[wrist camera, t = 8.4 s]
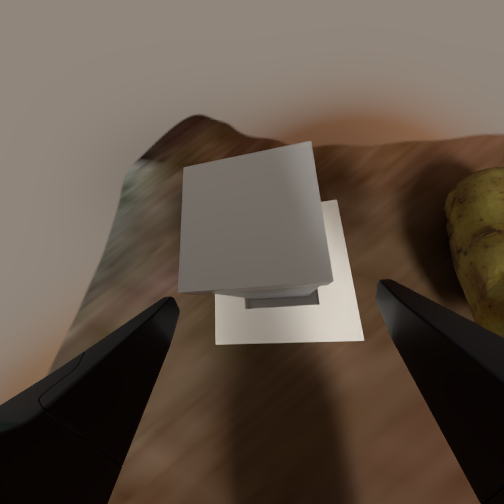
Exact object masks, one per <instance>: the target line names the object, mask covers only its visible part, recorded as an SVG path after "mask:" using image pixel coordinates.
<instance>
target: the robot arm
mask: <svg viewBox="0 0 504 504" xmlns="http://www.w3.org/2000/svg"><path fill="white" fill-rule="evenodd" d="M376 301H377V303H378V306H379V308H380V311H381V313H382V316H383V318H384V321H385V323H386V326H387V328H388V331H389V333H390V336H391V338H392V340H393V342H394V344H395V346H396V348H397V349H398V351H399V353H400V355H401V357H402V359H403V361H404V362H405V364H406V366H407V368H408V370H409V372H410V374H411V375H412V377H413V379H414V381H415V383H416V385H417V387H418V388H419V390H420V392H421V394H422V396H423V398H424V400H425V401H426V403H427V405H428V407H429V409H430V411H431V413H432V414H433V416H434V418H435V420H436V422H437V424H438V425H439V427H440V429H441V431H442V433H443V435H444V437H445V438H446V440H447V442H448V444H449V446H450V448H451V450H452V451H453V453H454V455H455V457H456V459H457V461H458V463H459V464H460V466H461V468H462V470H463V472H464V474H465V476H466V477H467V479H468V481H469V483H470V485H471V487H472V489H473V490H474V492H475V494H476V496H477V498H478V500H479V502H480V503H481V504H504V338H503V337H501V336H499V335H497V334H495V333H493V332H492V331H490V330H488V329H486V328H484V327H482V326H480V325H478V324H476V323H474V322H472V321H470V320H468V319H467V318H465V317H463V316H461V315H459V314H457V313H455V312H453V311H451V310H449V309H447V308H445V307H443V306H441V305H440V304H438V303H436V302H434V301H432V300H430V299H428V298H426V297H424V296H422V295H420V294H418V293H416V292H414V291H413V290H411V289H409V288H407V287H405V286H403V285H401V284H399V283H397V282H395V281H393V280H391V279H383V280H379V281H378V283H377V291H376ZM179 313H180V310H179V307H178V305H177V303H176V301H175V299H174V298H173V297H164V298H162V299H161V300H159V301H158V302H156V303H155V304H153V305H152V306H150V307H149V308H147V309H146V310H144V311H143V312H142V313H140V314H139V315H137V316H136V317H134V318H133V319H131V320H130V321H128V322H127V323H125V324H124V325H122V326H121V327H120V328H118V329H117V330H115V331H114V332H112V333H111V334H109V335H108V336H106V337H105V338H103V339H102V340H100V341H99V342H97V343H96V344H95V345H93V346H92V347H90V348H89V349H87V350H86V351H84V352H83V353H81V354H80V355H78V356H77V357H75V358H74V359H72V360H71V361H69V362H68V363H66V364H65V365H63V366H62V367H60V368H59V369H57V370H56V371H54V372H53V373H51V374H50V375H48V376H46V377H45V378H43V379H42V380H40V381H38V382H37V383H35V384H34V385H32V386H30V387H29V388H27V389H26V390H24V391H22V392H21V393H19V394H18V395H16V396H14V397H13V398H11V399H10V400H8V401H6V402H5V403H3V404H2V405H0V504H108V501H109V499H110V496H111V494H112V491H113V489H114V486H115V484H116V481H117V478H118V476H119V473H120V471H121V468H122V465H123V463H124V460H125V458H126V455H127V453H128V450H129V448H130V445H131V443H132V440H133V438H134V435H135V433H136V430H137V428H138V425H139V423H140V420H141V418H142V415H143V413H144V410H145V408H146V405H147V403H148V400H149V398H150V395H151V392H152V390H153V387H154V385H155V382H156V380H157V377H158V375H159V372H160V370H161V367H162V365H163V362H164V360H165V357H166V355H167V352H168V350H169V347H170V344H171V341H172V338H173V335H174V331H175V328H176V324H177V321H178V317H179Z"/></svg>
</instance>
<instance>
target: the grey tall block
mask: <svg viewBox="0 0 504 504" xmlns="http://www.w3.org/2000/svg"><path fill="white" fill-rule="evenodd" d="M332 282H333V275H332V268H331V262H330V256H329V250H328V243H327V237H326V231H325V225H324V219H323V212H322V206H321V200H320V194H319V187H318V181H317V175H316V169H315V162H314V156H313V150H312V144H311V141H307V142H303V143H298V144H293V145H288V146H283V147H278V148H274V149H269V150H264V151H259V152H255V153H250V154H245V155H240V156H235V157H231V158H226V159H221V160H216V161H212V162H207V163H202V164H197V165H193V166H188V167H184V171H183V193H182V215H181V237H180V260H179V282H178V293H185V294H195V295H199V294H220V295H227V296H235V297H242V298H250V299H257V300H258V299H274V298H290V297H306V296H309V295H310V294H311V293H312V292H314V291H315V290H316V289H317V288H318V287H319V286H324V285H329V284H330V283H332Z"/></svg>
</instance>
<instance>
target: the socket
mask: <svg viewBox="0 0 504 504" xmlns="http://www.w3.org/2000/svg"><path fill="white" fill-rule="evenodd" d="M321 206H322V212H323V219H324V225H325V231H326V237H327V243H328V250H329V256H330V262H331V268H332V275H333V282H332V283H330V284H329V285H324V286H319V287H318V288H317V289H316V290H315V291H314V292H312V293H311V294H310V295H309V296H306V297H290V298H274V299H258V300H257V299H250V298H242V297H235V296H227V295H220V294H215V337H216V345H224V344H261V343H297V342H334V341H364V337H363V332H362V326H361V321H360V316H359V311H358V306H357V301H356V296H355V290H354V285H353V280H352V275H351V270H350V265H349V260H348V254H347V249H346V244H345V239H344V234H343V229H342V224H341V219H340V213H339V208H338V203H337V200H330V201H324V202H321Z"/></svg>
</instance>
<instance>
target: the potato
mask: <svg viewBox="0 0 504 504" xmlns="http://www.w3.org/2000/svg"><path fill="white" fill-rule="evenodd" d="M450 189H451V190H450V192H449V194H448V196H447V199H446V202H445V203H444V212H445V216H446V219H447V220H448V222H447V225H446V230H447V233H448V236H449V241H450V249H451V256H452V260H453V265H454V268H455V272H456V274H457V277H458V279H459V282H460V284H461V286H462V289H463V291H464V294H465V297H466V299H467V302H468V305H469V307H470V310H471V312H472V315H473V318H474V321H475V323H476V324H478V325H480V326H482V327H484V328H486V329H488V330H490V331H492V332H493V333H495V334H497V335H499V336H501V337H503V338H504V167H495V168H488V169H484V170H480V171H477V172H475V173H473V174H470V175H468V176H467V177H465V178H464V179H462V180H460V181H458V182H457V183H455V184H454V185H453V186H452V187H451V188H450Z"/></svg>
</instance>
